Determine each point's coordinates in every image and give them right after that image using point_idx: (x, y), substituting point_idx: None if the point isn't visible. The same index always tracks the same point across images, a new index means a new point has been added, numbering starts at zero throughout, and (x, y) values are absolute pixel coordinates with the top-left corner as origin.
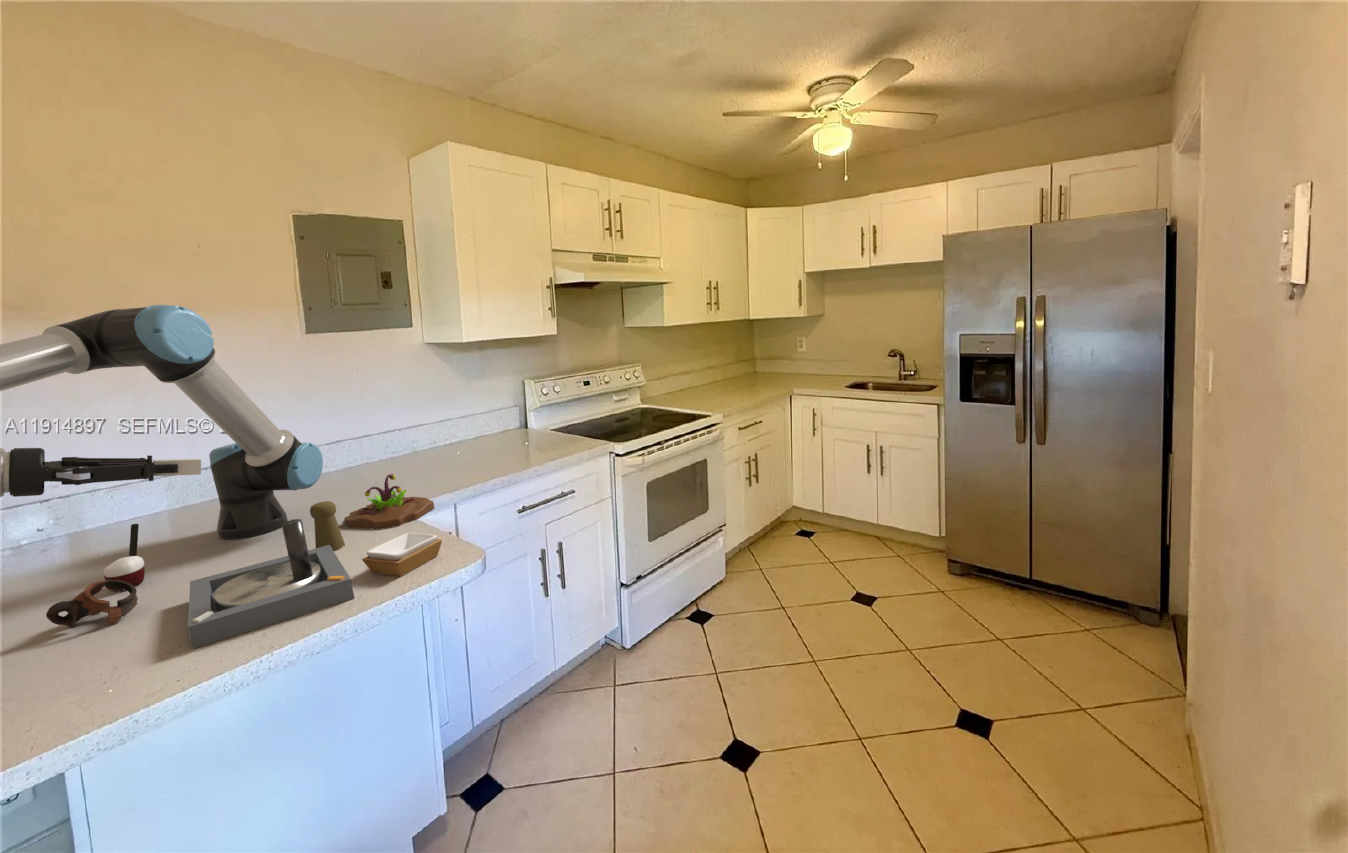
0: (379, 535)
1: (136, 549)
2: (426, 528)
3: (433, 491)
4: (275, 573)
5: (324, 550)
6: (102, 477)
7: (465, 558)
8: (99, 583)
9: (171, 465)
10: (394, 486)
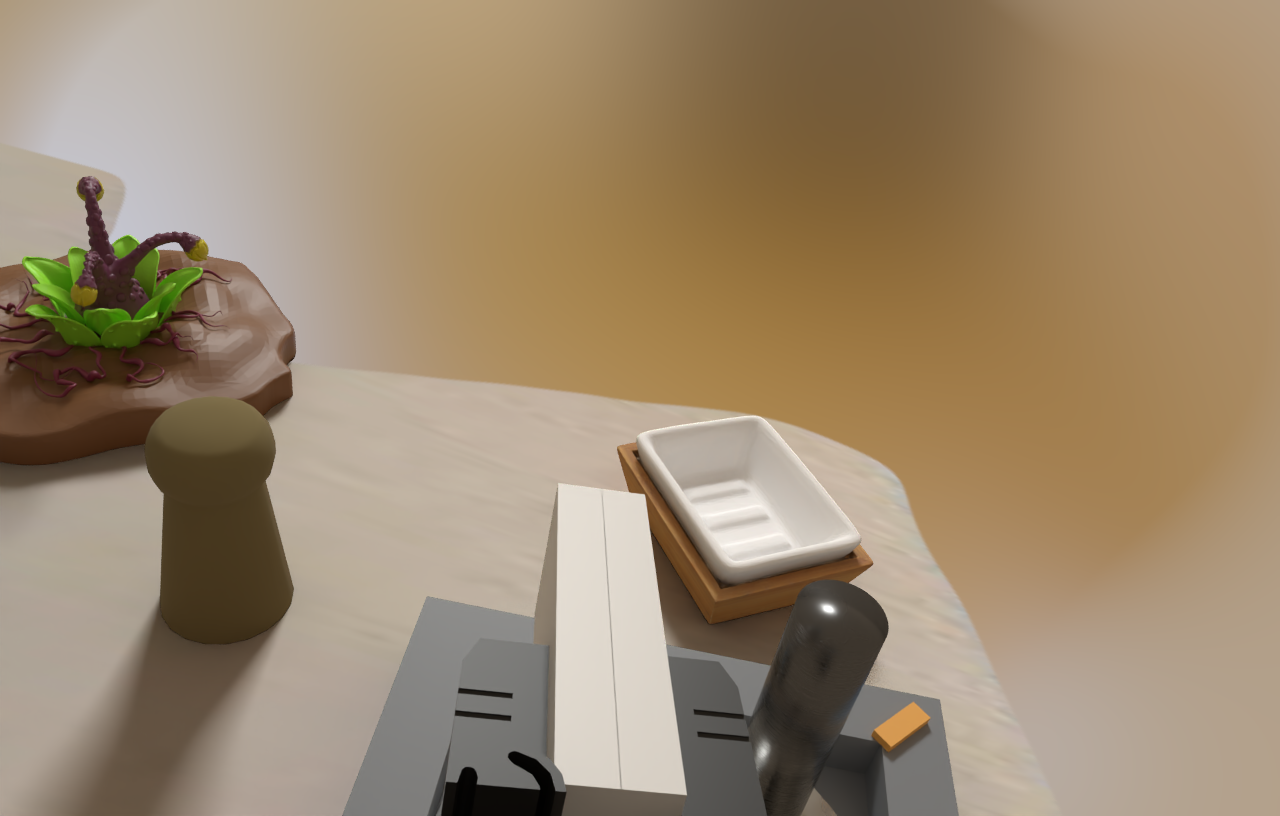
0: (312, 461)
1: None
2: (433, 380)
3: (40, 207)
4: None
5: (483, 632)
6: None
7: (834, 457)
8: None
9: (741, 711)
10: (167, 236)
